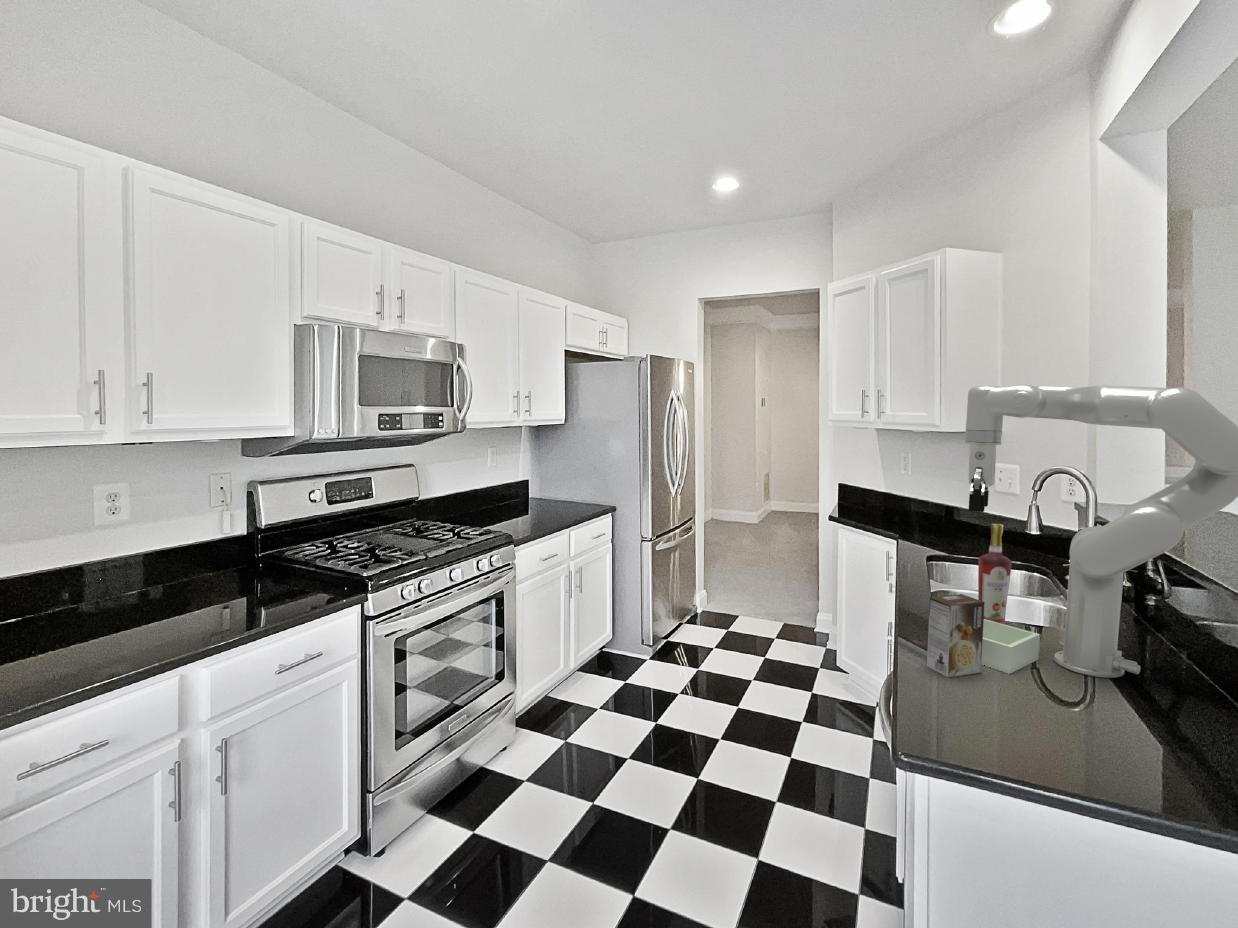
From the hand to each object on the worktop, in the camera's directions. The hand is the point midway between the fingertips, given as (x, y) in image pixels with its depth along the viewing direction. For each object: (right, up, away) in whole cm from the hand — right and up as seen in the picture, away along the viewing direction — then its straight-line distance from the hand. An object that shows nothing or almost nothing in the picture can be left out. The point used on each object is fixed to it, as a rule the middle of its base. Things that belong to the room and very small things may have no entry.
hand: (978, 508), depth 150 cm
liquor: (+9, -33, +11) cm, 36 cm away
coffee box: (-13, -35, -13) cm, 39 cm away
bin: (-1, -34, -4) cm, 34 cm away
